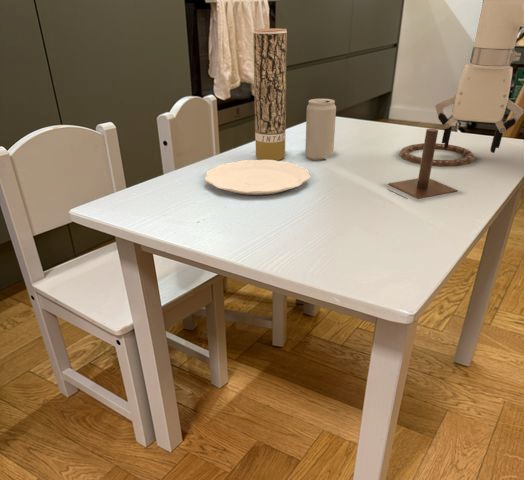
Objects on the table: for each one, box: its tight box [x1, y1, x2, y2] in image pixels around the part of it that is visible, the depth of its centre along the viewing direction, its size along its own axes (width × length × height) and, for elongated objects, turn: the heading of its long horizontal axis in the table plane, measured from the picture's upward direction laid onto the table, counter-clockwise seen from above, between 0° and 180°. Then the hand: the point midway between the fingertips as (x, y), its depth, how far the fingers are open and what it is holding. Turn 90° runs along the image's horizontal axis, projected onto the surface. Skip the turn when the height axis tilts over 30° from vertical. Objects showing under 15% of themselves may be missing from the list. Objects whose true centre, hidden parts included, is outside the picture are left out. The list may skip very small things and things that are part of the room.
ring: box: [398, 142, 476, 168], centre depth 111 cm, size 16×16×2 cm
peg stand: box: [387, 128, 459, 200], centre depth 91 cm, size 9×9×11 cm
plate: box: [204, 159, 311, 196], centre depth 100 cm, size 21×21×2 cm
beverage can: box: [304, 98, 337, 162], centre depth 111 cm, size 6×6×12 cm
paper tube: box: [252, 28, 288, 161], centre depth 108 cm, size 7×7×25 cm
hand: (468, 149), depth 108 cm, fingers open, 9 cm apart
